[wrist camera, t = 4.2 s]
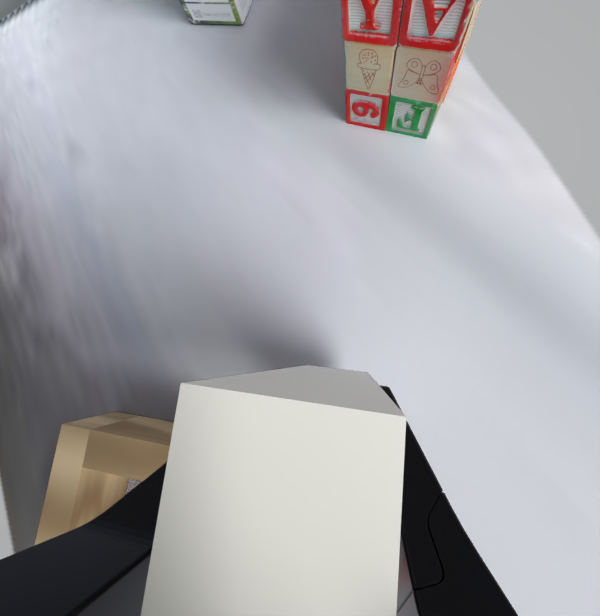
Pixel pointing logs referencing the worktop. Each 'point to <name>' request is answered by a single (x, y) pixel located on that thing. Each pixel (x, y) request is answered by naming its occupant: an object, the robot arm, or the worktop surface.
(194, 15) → the syrup box
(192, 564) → the white rectangular block
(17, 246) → the worktop surface
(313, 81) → the worktop surface
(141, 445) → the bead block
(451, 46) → the stack of blocks
